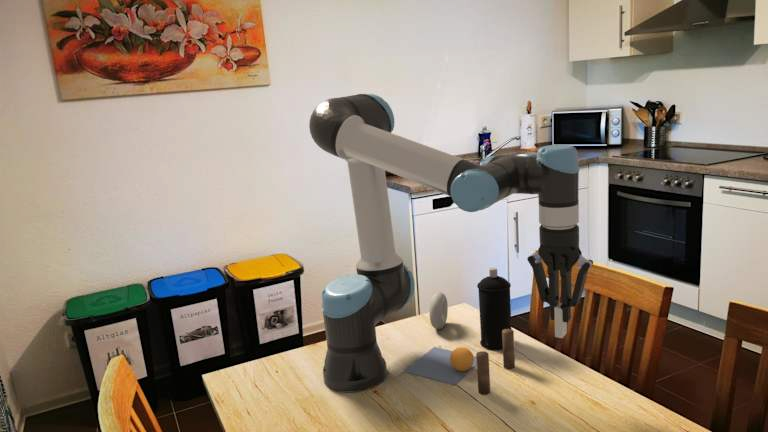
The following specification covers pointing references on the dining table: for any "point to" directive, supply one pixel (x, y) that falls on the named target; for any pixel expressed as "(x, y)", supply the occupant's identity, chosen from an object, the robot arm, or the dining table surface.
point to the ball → (461, 359)
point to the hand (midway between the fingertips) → (560, 334)
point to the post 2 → (508, 348)
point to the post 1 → (483, 372)
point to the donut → (438, 310)
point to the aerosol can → (494, 309)
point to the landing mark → (438, 367)
